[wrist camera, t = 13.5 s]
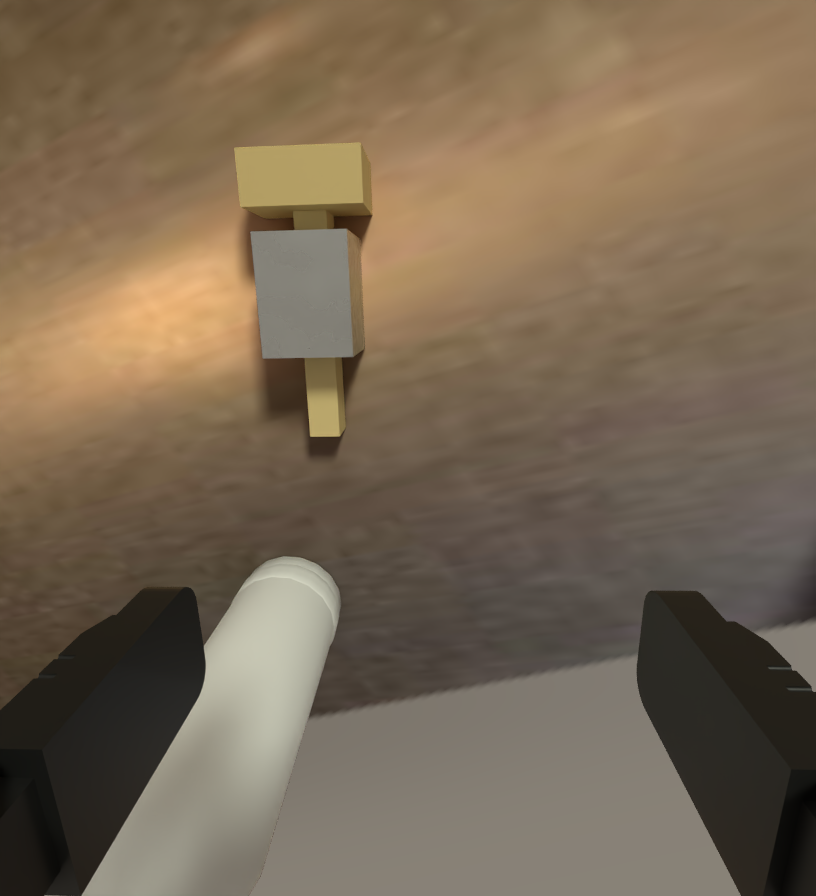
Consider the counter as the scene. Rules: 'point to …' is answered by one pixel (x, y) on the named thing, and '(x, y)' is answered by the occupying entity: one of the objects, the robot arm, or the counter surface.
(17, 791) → the robot arm
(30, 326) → the counter surface
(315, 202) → the yellow t-shaped block
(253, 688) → the bottle
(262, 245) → the slotted grey block
